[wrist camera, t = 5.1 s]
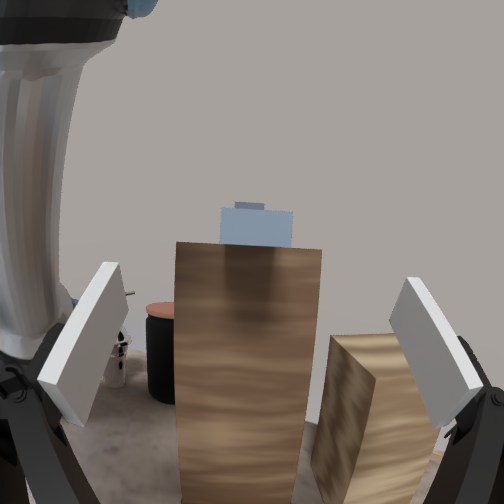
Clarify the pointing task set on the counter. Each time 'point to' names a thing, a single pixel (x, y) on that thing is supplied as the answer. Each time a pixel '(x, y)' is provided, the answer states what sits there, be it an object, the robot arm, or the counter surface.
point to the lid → (255, 226)
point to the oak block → (370, 424)
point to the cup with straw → (118, 359)
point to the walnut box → (242, 368)
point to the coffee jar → (160, 351)
